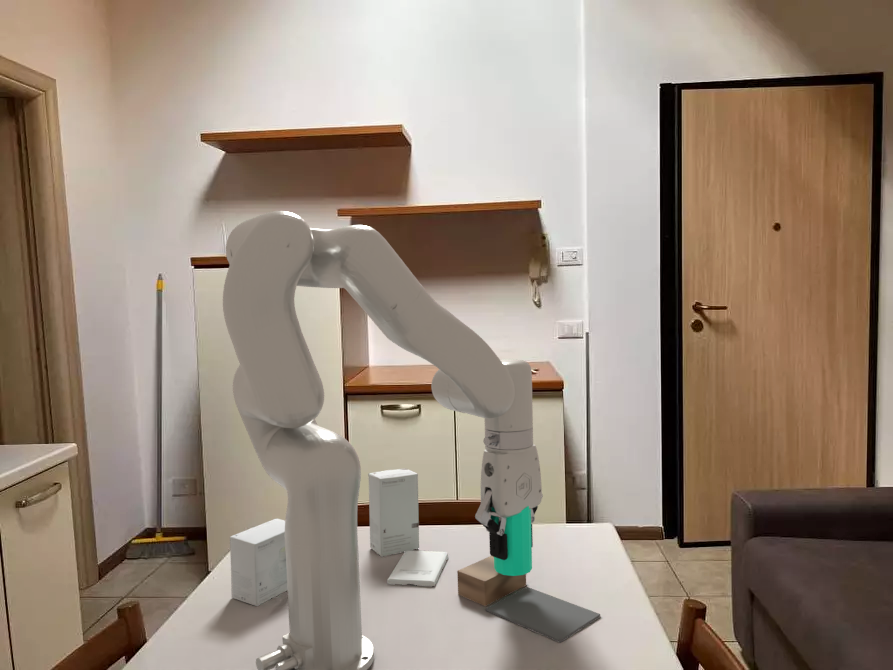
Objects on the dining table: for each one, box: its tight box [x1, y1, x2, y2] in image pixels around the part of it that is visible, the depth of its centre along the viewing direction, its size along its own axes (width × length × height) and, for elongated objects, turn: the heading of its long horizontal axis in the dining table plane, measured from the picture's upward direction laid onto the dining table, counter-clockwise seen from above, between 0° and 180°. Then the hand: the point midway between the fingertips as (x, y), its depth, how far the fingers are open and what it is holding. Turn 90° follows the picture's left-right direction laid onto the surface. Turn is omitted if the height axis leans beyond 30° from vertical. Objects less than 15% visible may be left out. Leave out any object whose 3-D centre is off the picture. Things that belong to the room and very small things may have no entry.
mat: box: [485, 586, 601, 643], centre depth 104 cm, size 10×14×1 cm
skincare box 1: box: [229, 518, 288, 607], centre depth 115 cm, size 10×6×10 cm, turn 148°
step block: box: [456, 555, 527, 607], centre depth 112 cm, size 10×6×4 cm, turn 134°
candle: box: [494, 506, 533, 576], centre depth 108 cm, size 6×6×12 cm
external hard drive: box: [386, 550, 449, 587], centre depth 121 cm, size 2×8×12 cm
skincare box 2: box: [367, 468, 420, 558], centre depth 131 cm, size 8×6×15 cm
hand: (511, 550), depth 108 cm, fingers closed on candle, 5 cm apart
